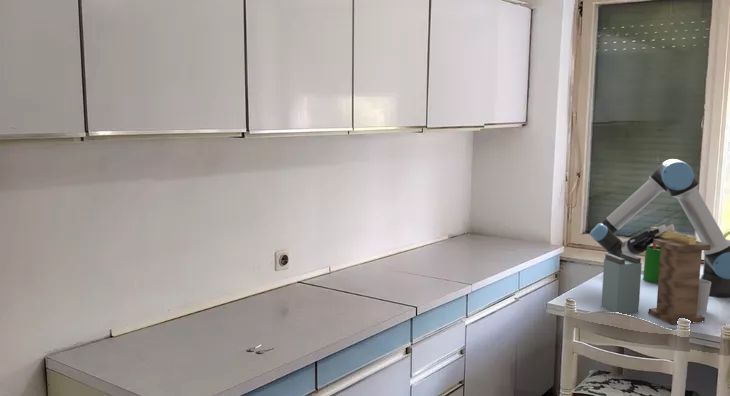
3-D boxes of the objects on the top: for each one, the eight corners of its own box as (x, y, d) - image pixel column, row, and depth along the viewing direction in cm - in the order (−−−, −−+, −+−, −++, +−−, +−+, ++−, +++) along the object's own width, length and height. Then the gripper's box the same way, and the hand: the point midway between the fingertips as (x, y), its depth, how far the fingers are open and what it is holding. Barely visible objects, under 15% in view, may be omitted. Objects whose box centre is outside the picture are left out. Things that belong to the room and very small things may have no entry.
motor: (666, 283, 300) (669, 241, 297) (645, 282, 302) (648, 240, 299) (660, 278, 310) (663, 237, 307) (641, 277, 312) (643, 236, 309)
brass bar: (650, 234, 262) (651, 226, 261) (657, 233, 262) (657, 226, 262) (689, 245, 240) (689, 237, 240) (696, 244, 241) (696, 237, 241)
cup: (682, 307, 264) (684, 278, 262) (701, 307, 264) (703, 278, 263) (694, 313, 256) (696, 284, 254) (713, 313, 257) (715, 283, 255)
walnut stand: (648, 313, 256) (653, 239, 252) (678, 311, 259) (684, 237, 255) (672, 324, 242) (678, 246, 238) (704, 322, 245) (710, 244, 241)
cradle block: (601, 306, 264) (604, 254, 261) (623, 305, 267) (626, 252, 264) (616, 314, 255) (619, 259, 252) (638, 312, 257) (641, 258, 254)
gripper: (653, 253, 275) (689, 235, 253) (620, 255, 271) (653, 237, 250) (648, 237, 277) (684, 217, 256) (615, 238, 274) (648, 219, 253)
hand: (669, 227), depth 253 cm, fingers closed on brass bar, 3 cm apart
